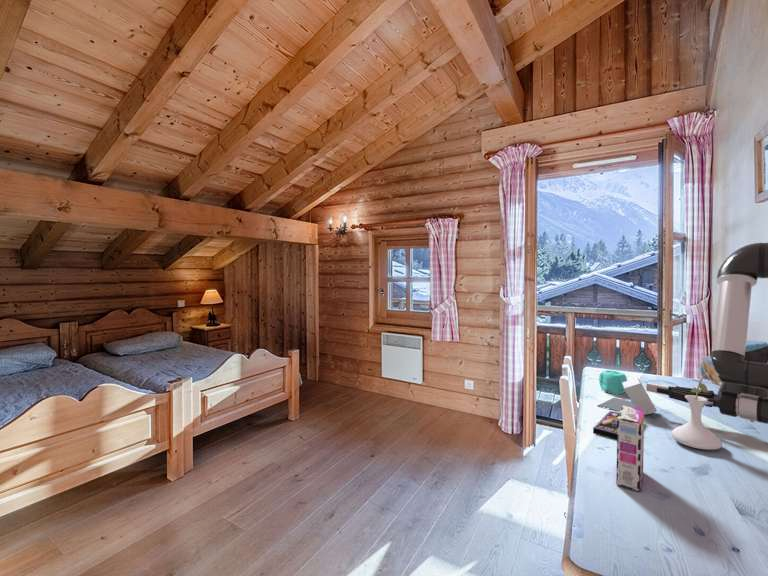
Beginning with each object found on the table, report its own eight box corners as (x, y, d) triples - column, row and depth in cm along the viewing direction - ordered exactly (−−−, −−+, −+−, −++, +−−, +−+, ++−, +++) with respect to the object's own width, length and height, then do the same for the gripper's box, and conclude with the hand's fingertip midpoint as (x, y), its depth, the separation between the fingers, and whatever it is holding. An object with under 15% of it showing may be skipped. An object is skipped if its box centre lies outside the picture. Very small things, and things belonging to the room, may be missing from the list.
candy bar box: (641, 493, 82) (641, 423, 81) (615, 485, 85) (615, 418, 84) (644, 471, 90) (644, 408, 90) (621, 465, 94) (621, 404, 93)
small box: (657, 411, 122) (640, 383, 124) (640, 416, 125) (623, 388, 127) (653, 404, 129) (637, 377, 131) (636, 408, 132) (621, 382, 134)
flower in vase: (703, 456, 97) (704, 366, 96) (661, 438, 108) (661, 357, 107) (737, 449, 100) (737, 362, 100) (692, 432, 111) (693, 353, 111)
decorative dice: (606, 394, 148) (606, 375, 148) (598, 388, 156) (598, 370, 156) (628, 394, 147) (628, 375, 147) (618, 388, 155) (618, 370, 155)
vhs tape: (593, 427, 113) (609, 410, 126) (593, 434, 113) (609, 417, 126) (629, 437, 106) (643, 418, 119) (629, 444, 106) (643, 425, 119)
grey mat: (614, 398, 143) (614, 397, 143) (643, 405, 135) (643, 404, 135) (597, 406, 135) (597, 405, 135) (627, 414, 127) (627, 413, 127)
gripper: (733, 422, 105) (640, 401, 124) (743, 412, 112) (654, 393, 131) (733, 397, 104) (640, 379, 124) (743, 388, 112) (654, 373, 131)
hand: (647, 386), depth 127 cm, fingers closed
